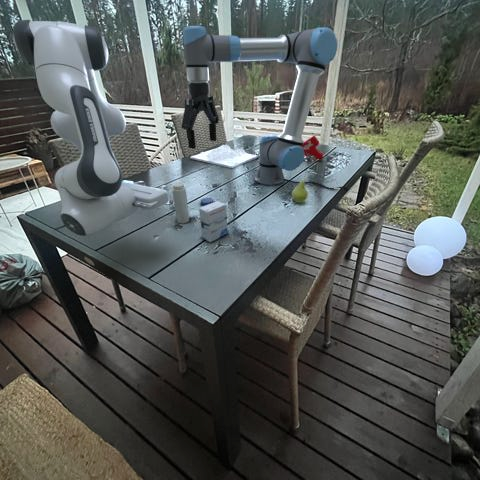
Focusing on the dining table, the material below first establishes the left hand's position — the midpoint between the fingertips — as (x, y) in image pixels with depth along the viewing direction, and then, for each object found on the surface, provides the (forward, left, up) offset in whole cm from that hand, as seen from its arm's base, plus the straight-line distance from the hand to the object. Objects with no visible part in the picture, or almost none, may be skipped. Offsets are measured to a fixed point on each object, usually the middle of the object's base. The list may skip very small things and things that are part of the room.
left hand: (154, 185), depth 89 cm
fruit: (+37, +49, -19) cm, 64 cm away
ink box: (+18, +7, -19) cm, 27 cm away
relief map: (-27, +94, -19) cm, 99 cm away
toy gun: (+22, +113, -19) cm, 117 cm away
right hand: (+1, +29, +7) cm, 30 cm away
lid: (0, +29, -17) cm, 34 cm away
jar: (0, +12, -19) cm, 22 cm away
